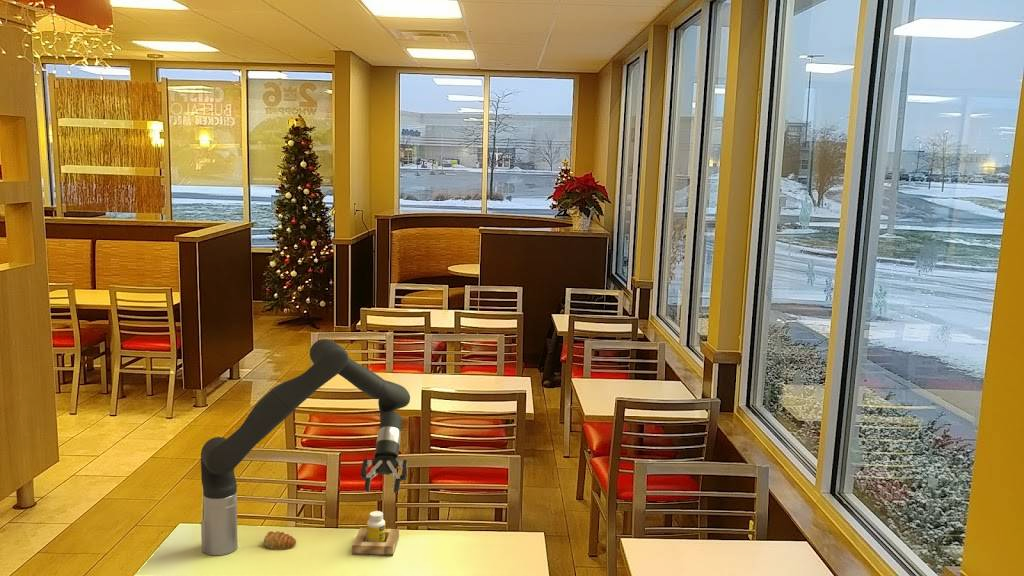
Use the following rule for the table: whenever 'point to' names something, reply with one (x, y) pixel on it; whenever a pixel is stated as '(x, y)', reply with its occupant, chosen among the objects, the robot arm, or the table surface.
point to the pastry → (279, 540)
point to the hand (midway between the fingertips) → (381, 491)
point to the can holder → (375, 544)
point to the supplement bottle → (376, 527)
